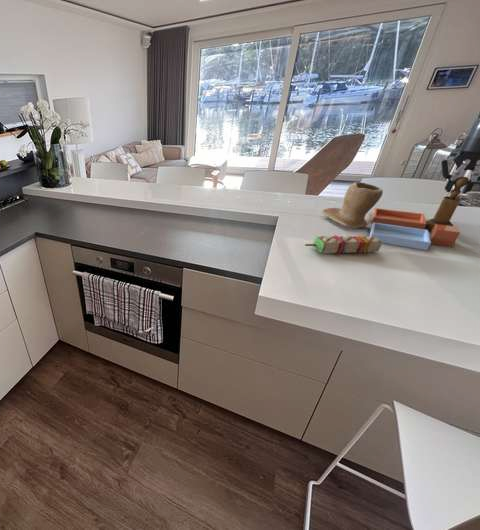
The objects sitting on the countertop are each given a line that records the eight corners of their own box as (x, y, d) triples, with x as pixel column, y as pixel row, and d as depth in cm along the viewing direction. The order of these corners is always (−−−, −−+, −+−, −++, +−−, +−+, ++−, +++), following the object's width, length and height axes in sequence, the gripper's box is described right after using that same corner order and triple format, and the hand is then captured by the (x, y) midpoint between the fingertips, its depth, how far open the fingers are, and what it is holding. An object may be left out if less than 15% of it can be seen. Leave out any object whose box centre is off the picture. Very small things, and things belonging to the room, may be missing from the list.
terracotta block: (449, 241, 93) (457, 226, 90) (451, 247, 89) (460, 232, 87) (428, 237, 95) (435, 223, 93) (429, 243, 92) (437, 229, 90)
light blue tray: (424, 237, 96) (428, 230, 95) (427, 250, 89) (431, 242, 87) (370, 228, 104) (373, 222, 103) (369, 240, 97) (371, 233, 95)
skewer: (366, 246, 94) (372, 232, 91) (380, 255, 88) (386, 240, 86) (299, 247, 96) (302, 233, 94) (307, 256, 91) (311, 242, 88)
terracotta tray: (421, 220, 107) (424, 213, 106) (423, 231, 100) (426, 224, 98) (372, 214, 115) (375, 208, 114) (371, 223, 108) (373, 217, 106)
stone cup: (377, 229, 104) (394, 187, 96) (343, 230, 104) (357, 190, 97) (349, 214, 117) (362, 177, 109) (319, 216, 117) (330, 179, 110)
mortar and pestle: (418, 227, 102) (443, 176, 93) (430, 224, 104) (456, 173, 95) (442, 234, 96) (471, 180, 87) (454, 230, 98) (484, 177, 89)
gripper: (453, 136, 86) (426, 192, 95) (527, 136, 78) (490, 198, 87) (450, 133, 91) (425, 187, 100) (519, 133, 83) (485, 191, 92)
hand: (455, 192), depth 93 cm, fingers closed on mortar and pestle, 3 cm apart
